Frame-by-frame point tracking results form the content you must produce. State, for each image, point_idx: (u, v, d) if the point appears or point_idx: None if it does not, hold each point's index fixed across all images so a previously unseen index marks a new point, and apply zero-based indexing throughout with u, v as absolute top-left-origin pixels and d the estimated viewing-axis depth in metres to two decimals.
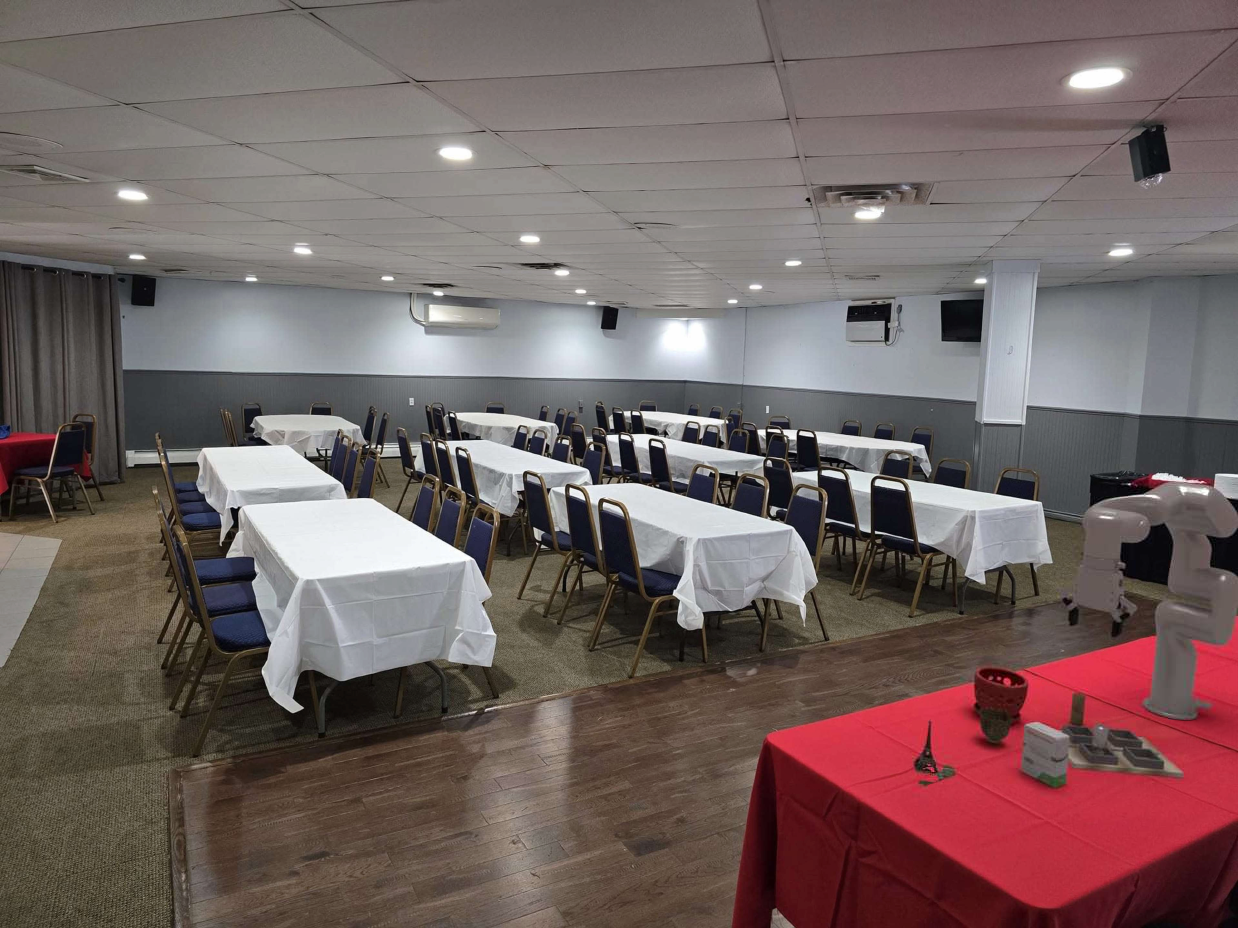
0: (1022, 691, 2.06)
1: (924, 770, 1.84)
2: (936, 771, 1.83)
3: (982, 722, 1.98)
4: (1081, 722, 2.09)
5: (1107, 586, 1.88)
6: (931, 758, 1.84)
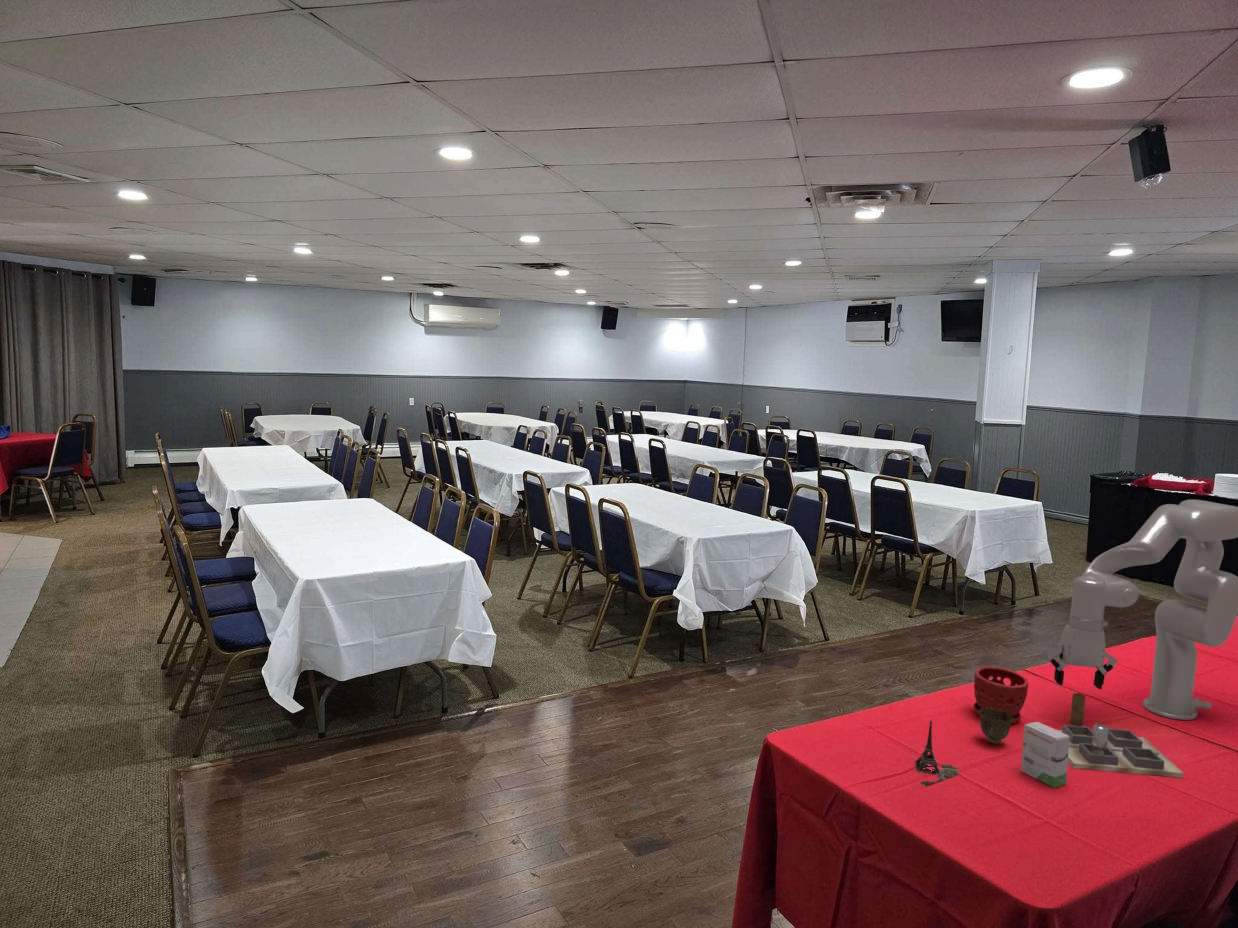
0: (1022, 691, 2.06)
1: (926, 770, 1.84)
2: (937, 771, 1.83)
3: (982, 722, 1.98)
4: (1081, 722, 2.09)
5: (1098, 645, 2.05)
6: (932, 758, 1.84)
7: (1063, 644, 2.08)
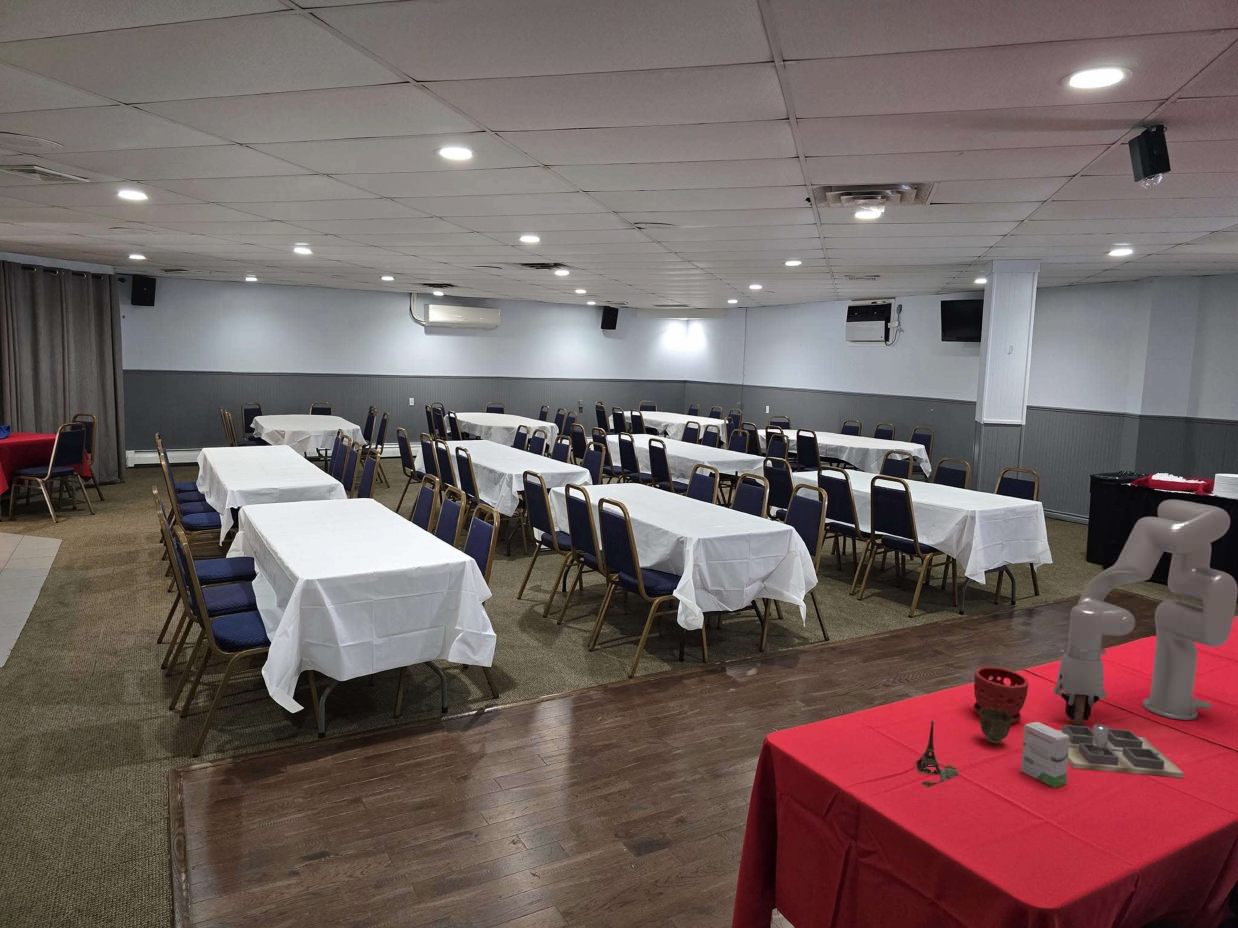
0: (1022, 691, 2.06)
1: (927, 770, 1.84)
2: (939, 772, 1.82)
3: (982, 722, 1.98)
4: (1081, 722, 2.09)
5: (1097, 673, 2.06)
6: (934, 759, 1.83)
7: (1062, 673, 2.09)
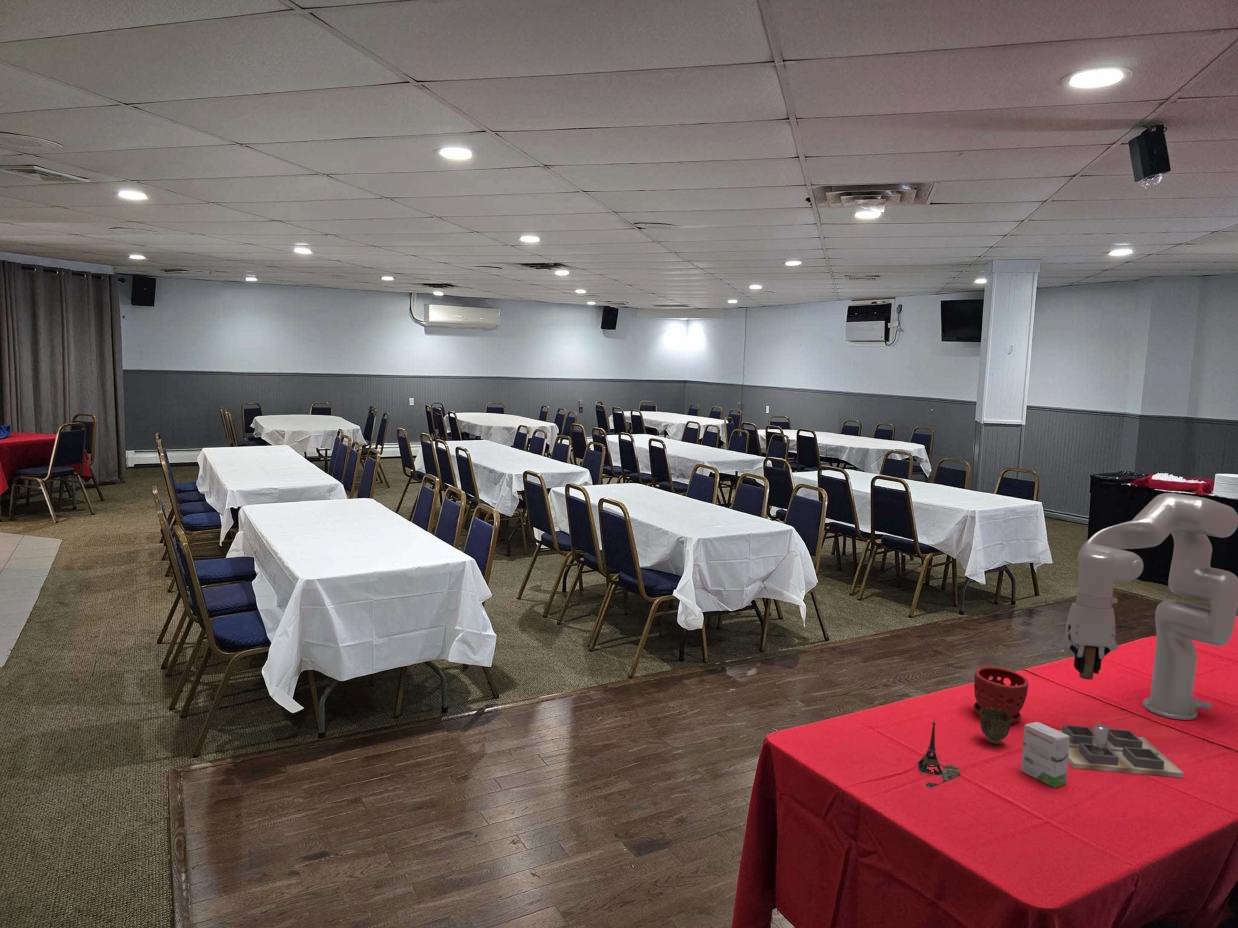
0: (1022, 691, 2.06)
1: (929, 771, 1.84)
2: (940, 772, 1.82)
3: (982, 722, 1.98)
4: (1091, 675, 1.96)
5: (1108, 623, 1.93)
6: (935, 759, 1.83)
7: (1070, 623, 1.96)
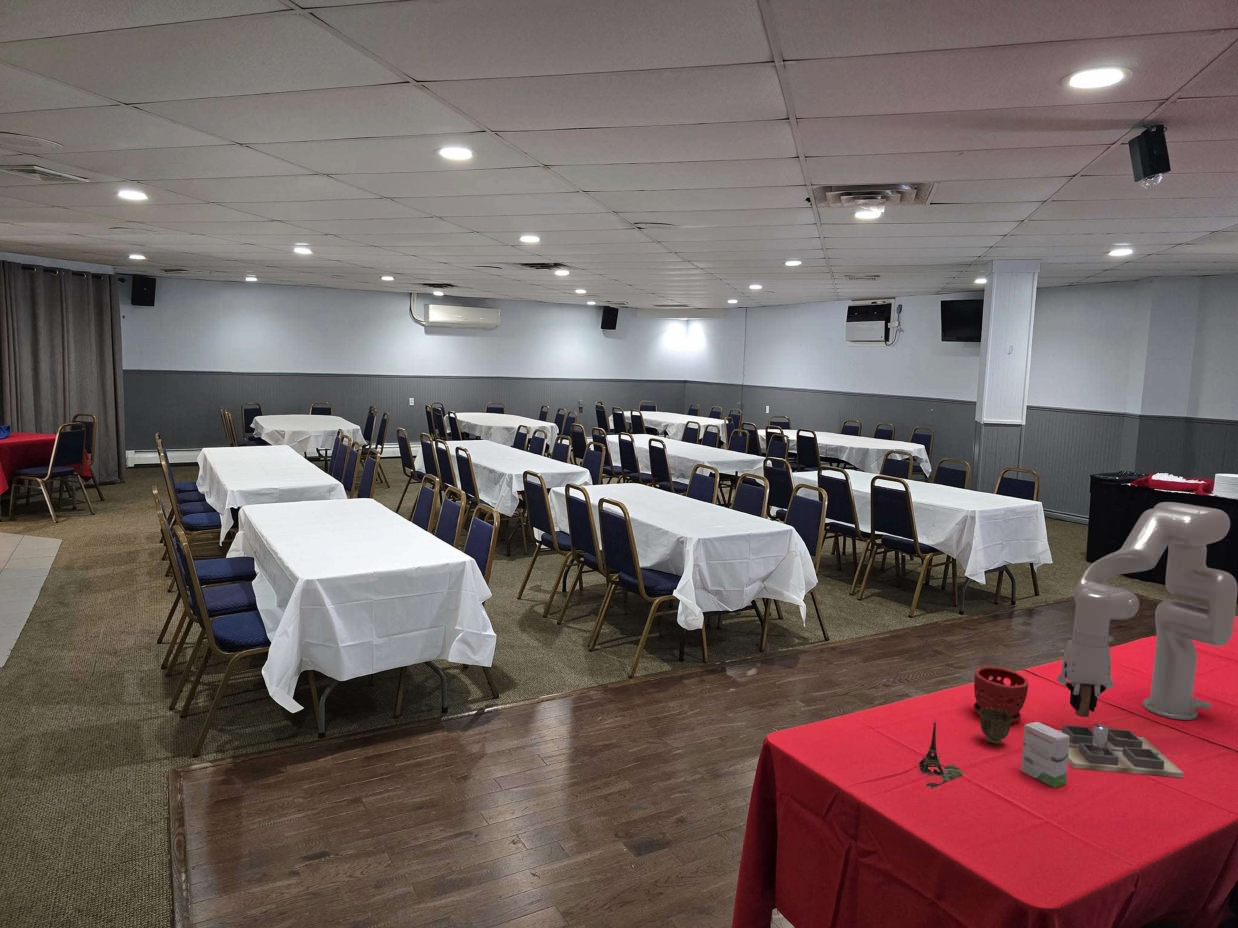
0: (1022, 691, 2.06)
1: (930, 771, 1.84)
2: (942, 772, 1.82)
3: (982, 722, 1.98)
4: (1087, 713, 1.97)
5: (1104, 661, 1.94)
6: (936, 759, 1.83)
7: (1066, 661, 1.97)
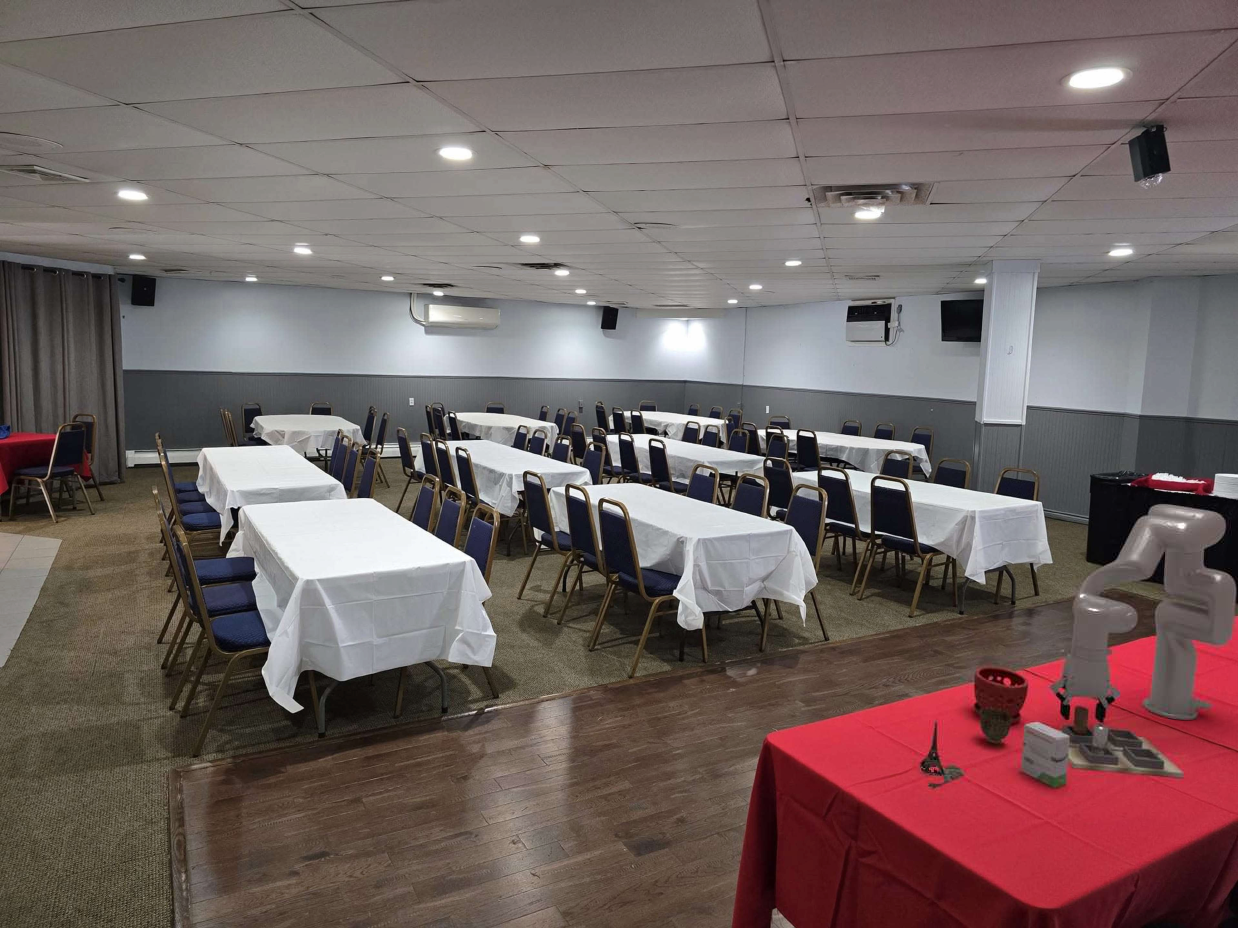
0: (1022, 691, 2.06)
1: (931, 772, 1.84)
2: (943, 773, 1.82)
3: (982, 722, 1.98)
4: None
5: (1103, 675, 1.94)
6: (938, 760, 1.83)
7: (1065, 674, 1.98)
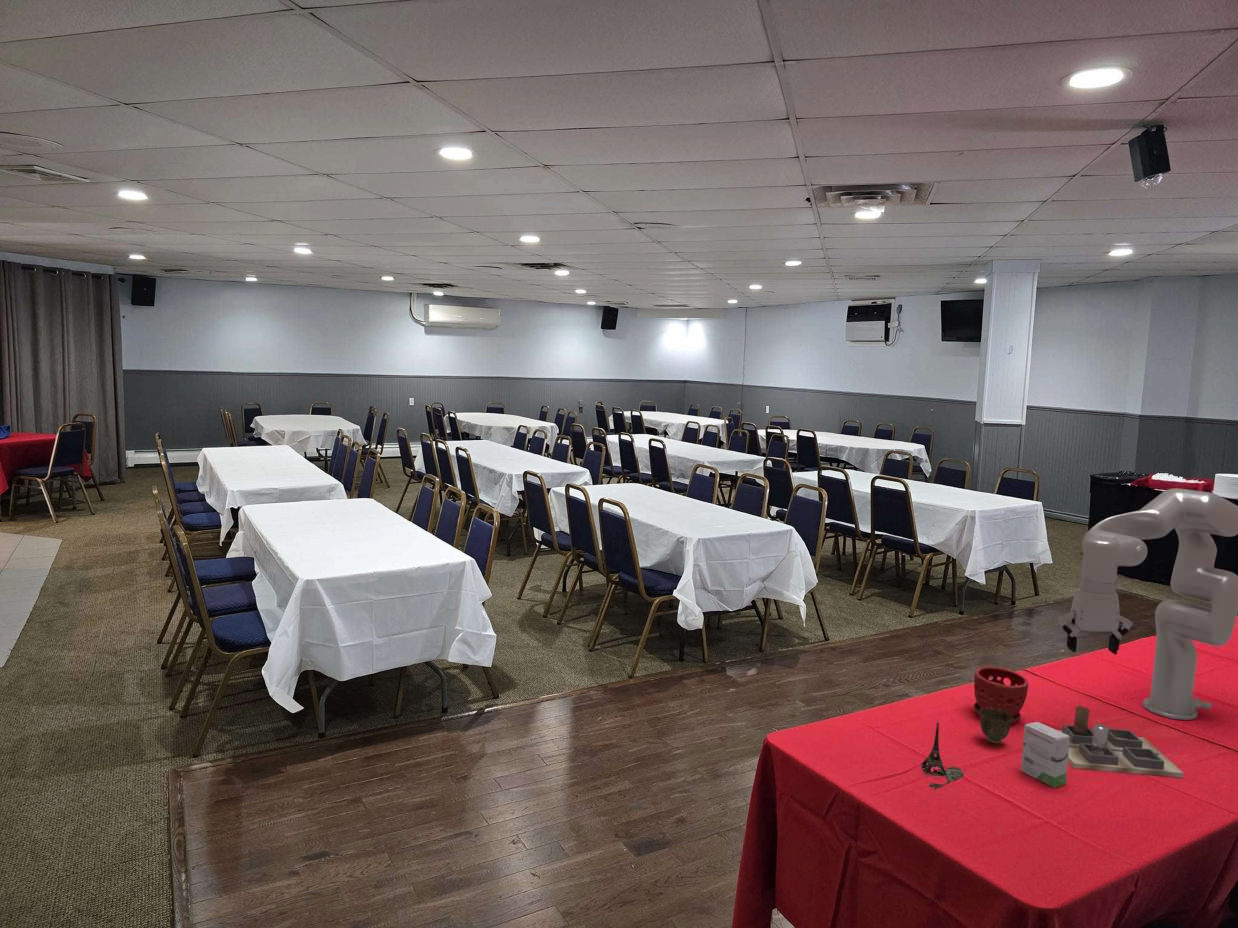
0: (1022, 691, 2.06)
1: (932, 772, 1.83)
2: (945, 773, 1.82)
3: (982, 722, 1.98)
4: None
5: (1112, 608, 1.95)
6: (939, 760, 1.83)
7: (1075, 609, 1.98)
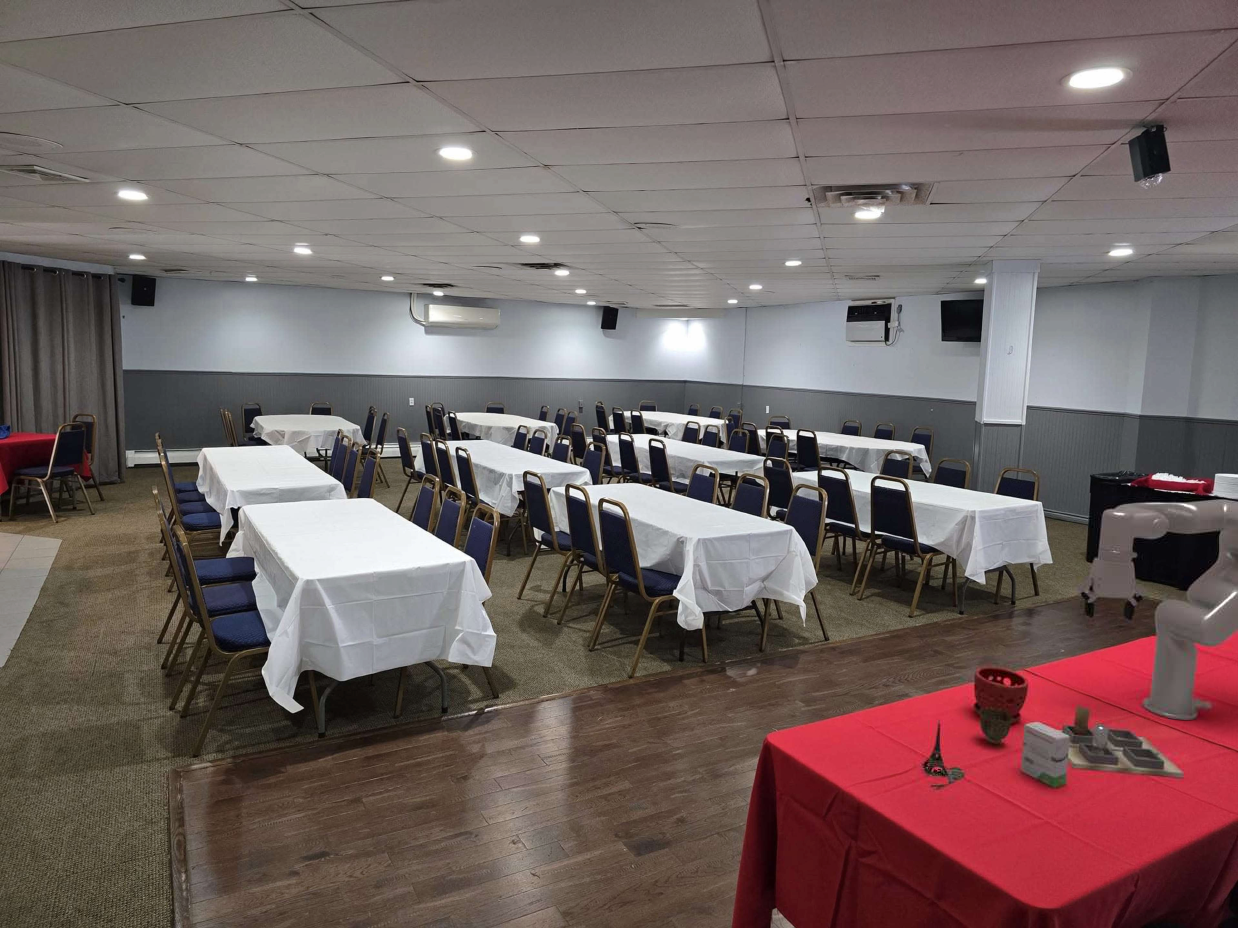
0: (1022, 691, 2.06)
1: (934, 772, 1.83)
2: (946, 773, 1.82)
3: (982, 722, 1.98)
4: None
5: (1128, 576, 2.08)
6: (941, 760, 1.83)
7: (1093, 577, 2.11)
